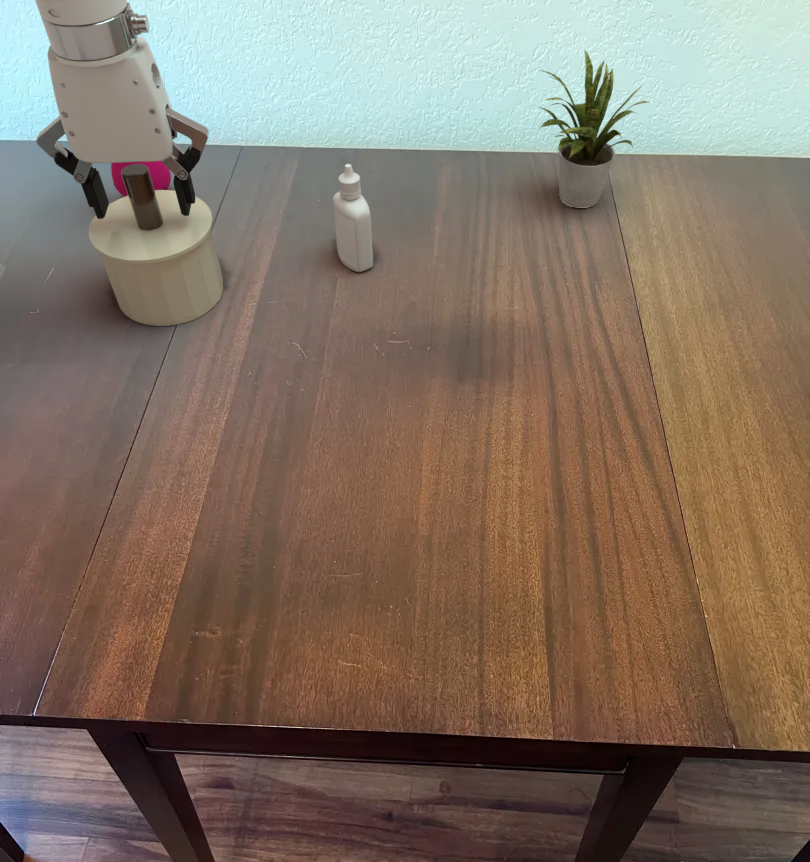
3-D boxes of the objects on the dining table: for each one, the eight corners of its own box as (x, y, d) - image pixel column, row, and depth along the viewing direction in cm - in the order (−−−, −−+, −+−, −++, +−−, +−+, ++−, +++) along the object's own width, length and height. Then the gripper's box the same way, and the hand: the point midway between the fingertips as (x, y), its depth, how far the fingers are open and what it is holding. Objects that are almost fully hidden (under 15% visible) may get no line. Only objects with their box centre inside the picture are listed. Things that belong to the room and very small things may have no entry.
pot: (109, 328, 89) (83, 263, 82) (127, 262, 96) (105, 198, 90) (218, 324, 89) (201, 259, 83) (227, 259, 97) (213, 194, 90)
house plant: (507, 171, 108) (520, 40, 94) (604, 160, 109) (629, 29, 96) (536, 230, 99) (554, 96, 86) (640, 217, 101) (673, 83, 87)
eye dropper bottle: (337, 274, 94) (328, 180, 85) (337, 247, 98) (328, 153, 88) (373, 273, 95) (368, 178, 85) (372, 245, 98) (367, 151, 88)
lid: (80, 271, 83) (55, 209, 77) (103, 200, 90) (82, 139, 85) (207, 266, 83) (191, 204, 77) (219, 196, 91) (206, 135, 85)
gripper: (192, 11, 73) (229, 188, 87) (4, 17, 72) (71, 193, 86) (182, 47, 68) (222, 227, 82) (-18, 53, 68) (57, 233, 82)
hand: (145, 209), depth 84 cm, fingers open, 8 cm apart
